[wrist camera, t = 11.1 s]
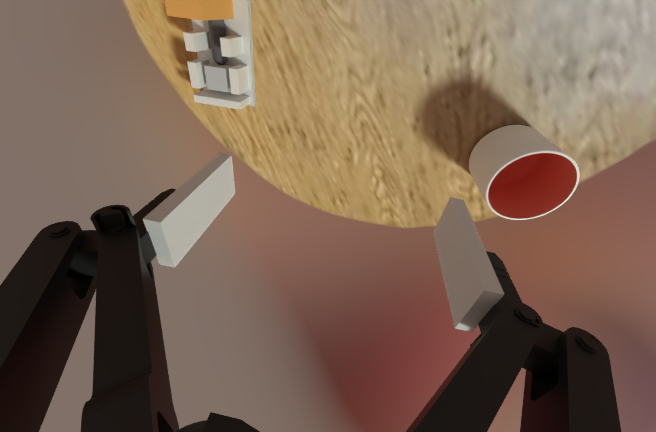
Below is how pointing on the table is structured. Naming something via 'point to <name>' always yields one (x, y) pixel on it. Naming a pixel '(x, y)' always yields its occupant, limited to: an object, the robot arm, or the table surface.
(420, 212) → the table surface
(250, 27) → the clip rail
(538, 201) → the cup
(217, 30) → the orange block with rod
